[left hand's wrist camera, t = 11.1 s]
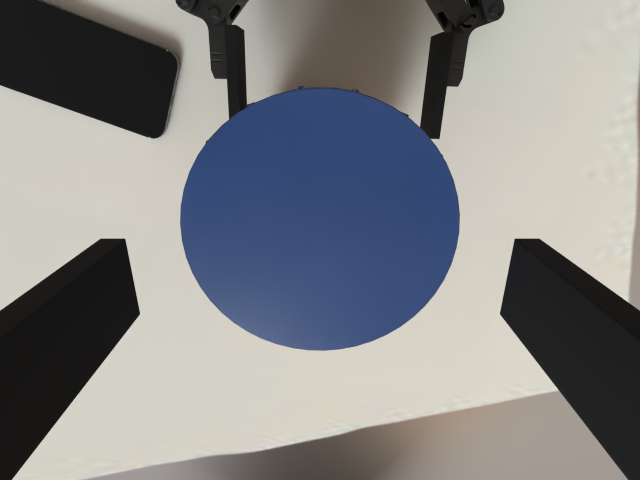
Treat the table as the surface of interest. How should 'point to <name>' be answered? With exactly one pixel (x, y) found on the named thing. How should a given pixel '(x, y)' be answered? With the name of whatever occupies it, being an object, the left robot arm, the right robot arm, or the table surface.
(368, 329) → the lid
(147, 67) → the smartphone
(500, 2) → the right robot arm
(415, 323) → the table surface
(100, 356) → the left robot arm
